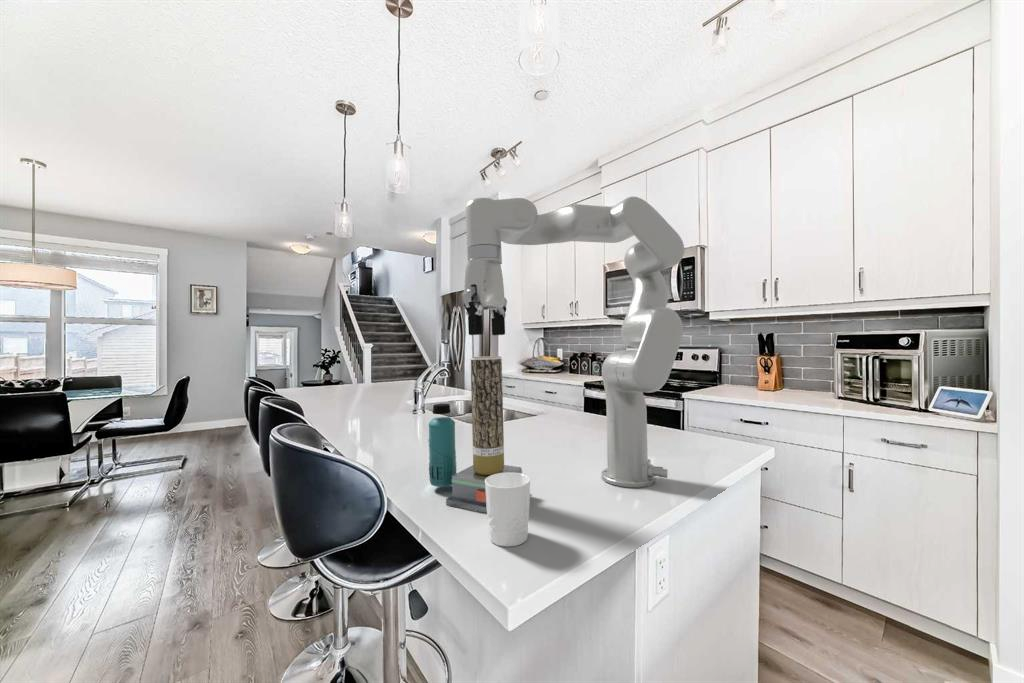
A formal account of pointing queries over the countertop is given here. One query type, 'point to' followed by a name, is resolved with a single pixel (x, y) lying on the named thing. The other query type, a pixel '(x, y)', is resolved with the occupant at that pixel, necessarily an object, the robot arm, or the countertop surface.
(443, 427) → the beverage bottle
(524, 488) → the white cup
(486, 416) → the paper tube
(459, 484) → the stand
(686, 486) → the countertop surface
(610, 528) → the countertop surface
